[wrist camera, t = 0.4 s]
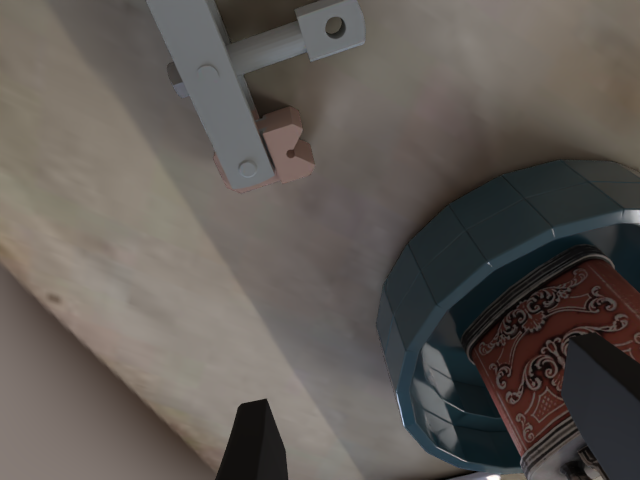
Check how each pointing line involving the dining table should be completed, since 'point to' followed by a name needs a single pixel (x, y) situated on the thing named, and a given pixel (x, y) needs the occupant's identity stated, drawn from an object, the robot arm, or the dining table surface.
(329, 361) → the dining table surface
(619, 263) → the bowl
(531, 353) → the lighter
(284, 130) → the clamp
